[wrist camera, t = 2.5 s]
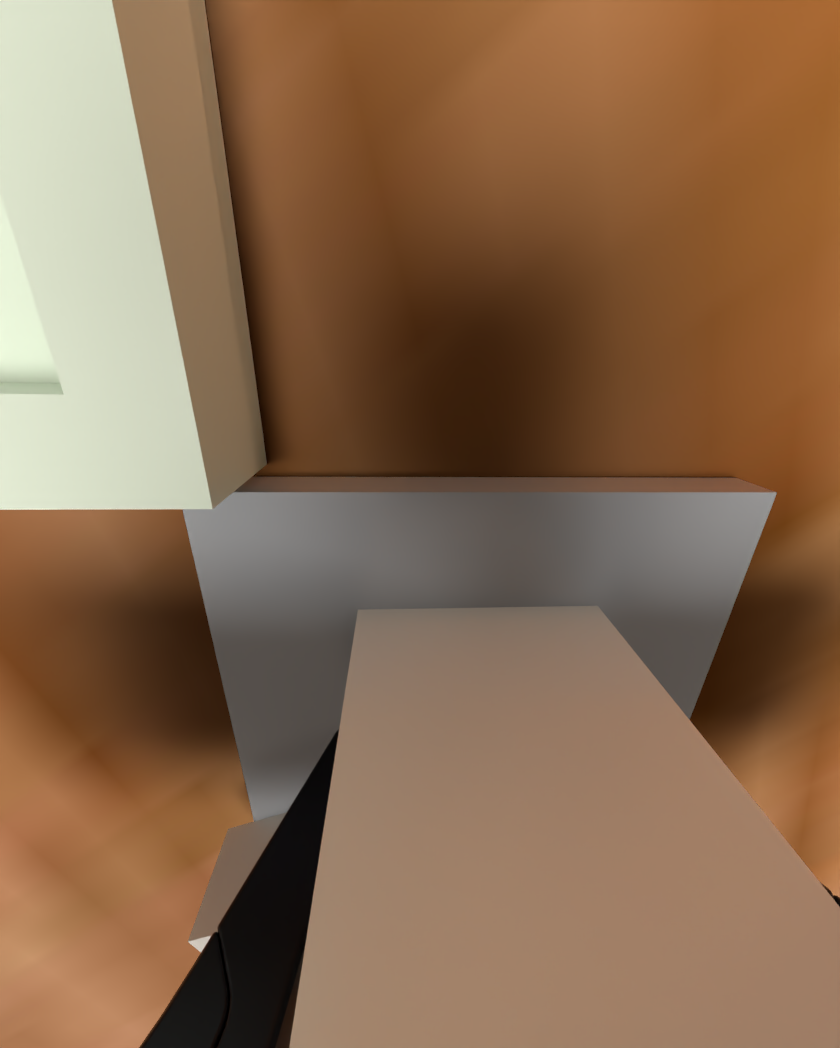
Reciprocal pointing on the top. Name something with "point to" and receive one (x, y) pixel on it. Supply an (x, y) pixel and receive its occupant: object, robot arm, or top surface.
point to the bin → (118, 264)
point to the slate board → (441, 594)
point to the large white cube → (547, 856)
